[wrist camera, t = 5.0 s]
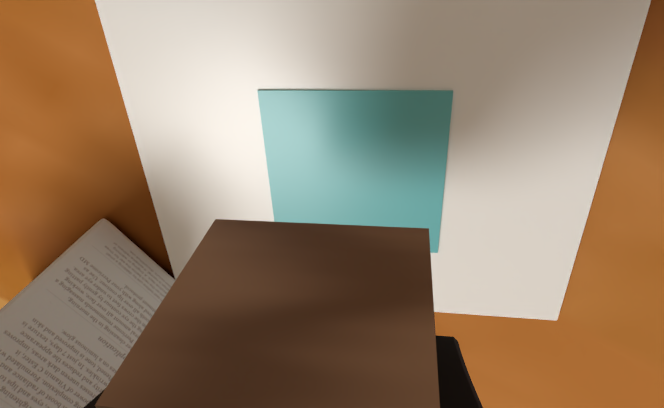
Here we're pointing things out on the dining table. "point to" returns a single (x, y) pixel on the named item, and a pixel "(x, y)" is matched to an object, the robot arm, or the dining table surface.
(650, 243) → the dining table surface
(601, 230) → the dining table surface
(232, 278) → the walnut block
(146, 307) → the small box
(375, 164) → the board
